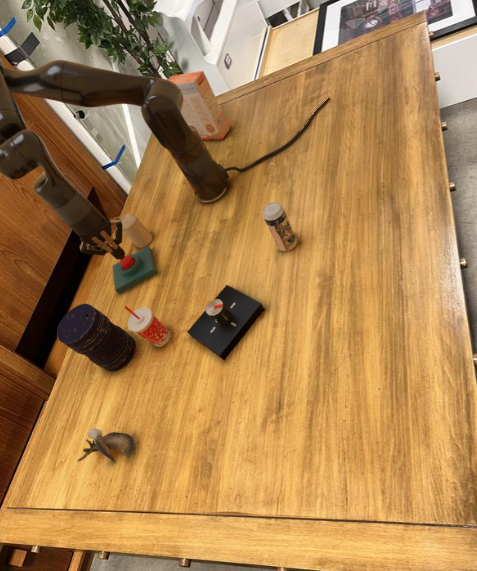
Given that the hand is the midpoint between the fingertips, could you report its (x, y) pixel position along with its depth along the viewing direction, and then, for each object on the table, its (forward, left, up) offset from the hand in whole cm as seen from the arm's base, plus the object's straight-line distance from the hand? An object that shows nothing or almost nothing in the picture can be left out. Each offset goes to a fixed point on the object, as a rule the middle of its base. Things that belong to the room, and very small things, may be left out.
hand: (122, 257), depth 103 cm
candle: (-6, -10, -7) cm, 14 cm away
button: (0, 0, -3) cm, 3 cm away
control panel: (-14, +34, -7) cm, 37 cm away
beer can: (-36, +25, -7) cm, 44 cm away
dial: (-14, +34, -4) cm, 37 cm away
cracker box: (-44, -39, -7) cm, 59 cm away
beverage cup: (+1, +26, -7) cm, 27 cm away
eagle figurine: (+19, +44, -7) cm, 48 cm away
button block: (0, 0, -7) cm, 7 cm away
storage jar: (+12, +22, -7) cm, 26 cm away
